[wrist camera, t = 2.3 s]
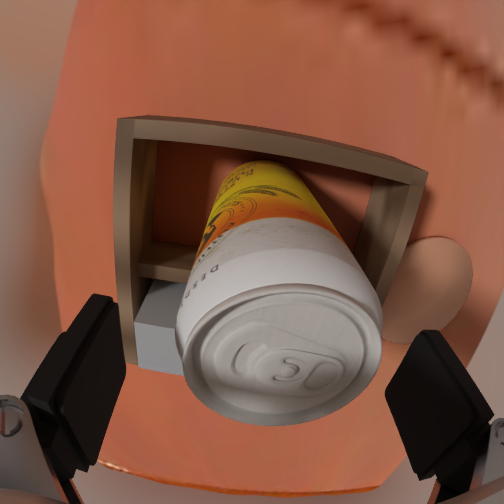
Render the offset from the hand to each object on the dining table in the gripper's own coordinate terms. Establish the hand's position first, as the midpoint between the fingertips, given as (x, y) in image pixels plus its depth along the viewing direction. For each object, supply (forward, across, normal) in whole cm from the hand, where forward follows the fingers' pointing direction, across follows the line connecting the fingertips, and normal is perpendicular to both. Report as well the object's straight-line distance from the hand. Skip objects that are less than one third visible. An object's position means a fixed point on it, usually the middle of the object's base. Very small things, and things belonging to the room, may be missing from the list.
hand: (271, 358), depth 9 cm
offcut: (+14, +4, +7) cm, 16 cm away
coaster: (+14, -16, +5) cm, 21 cm away
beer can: (+14, 0, -1) cm, 14 cm away
